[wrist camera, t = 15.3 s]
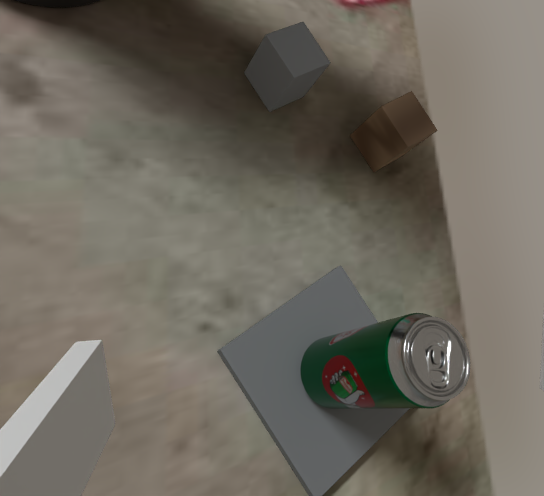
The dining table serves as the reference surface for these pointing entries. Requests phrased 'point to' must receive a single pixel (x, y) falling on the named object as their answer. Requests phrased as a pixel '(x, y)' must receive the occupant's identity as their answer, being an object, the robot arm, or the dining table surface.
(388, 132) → the walnut block
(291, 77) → the slate grey block
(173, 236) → the dining table surface
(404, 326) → the soda can
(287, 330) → the grey square plate
